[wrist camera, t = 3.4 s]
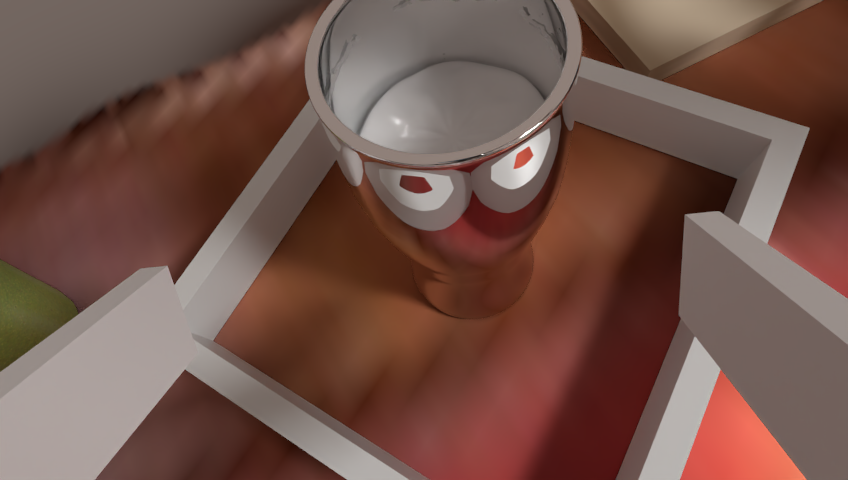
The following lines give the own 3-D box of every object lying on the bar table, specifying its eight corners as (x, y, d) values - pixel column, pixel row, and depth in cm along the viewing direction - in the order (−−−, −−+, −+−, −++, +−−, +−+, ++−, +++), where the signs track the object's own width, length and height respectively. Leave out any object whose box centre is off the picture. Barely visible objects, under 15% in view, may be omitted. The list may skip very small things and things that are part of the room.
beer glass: (566, 234, 25) (643, -18, 12) (500, 356, 24) (499, 228, 10) (447, 179, 28) (393, -88, 14) (378, 286, 26) (238, 102, 12)
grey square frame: (770, 168, 25) (809, 128, 22) (594, 625, 19) (612, 660, 16) (397, 40, 32) (386, -6, 29) (181, 350, 26) (136, 336, 23)
